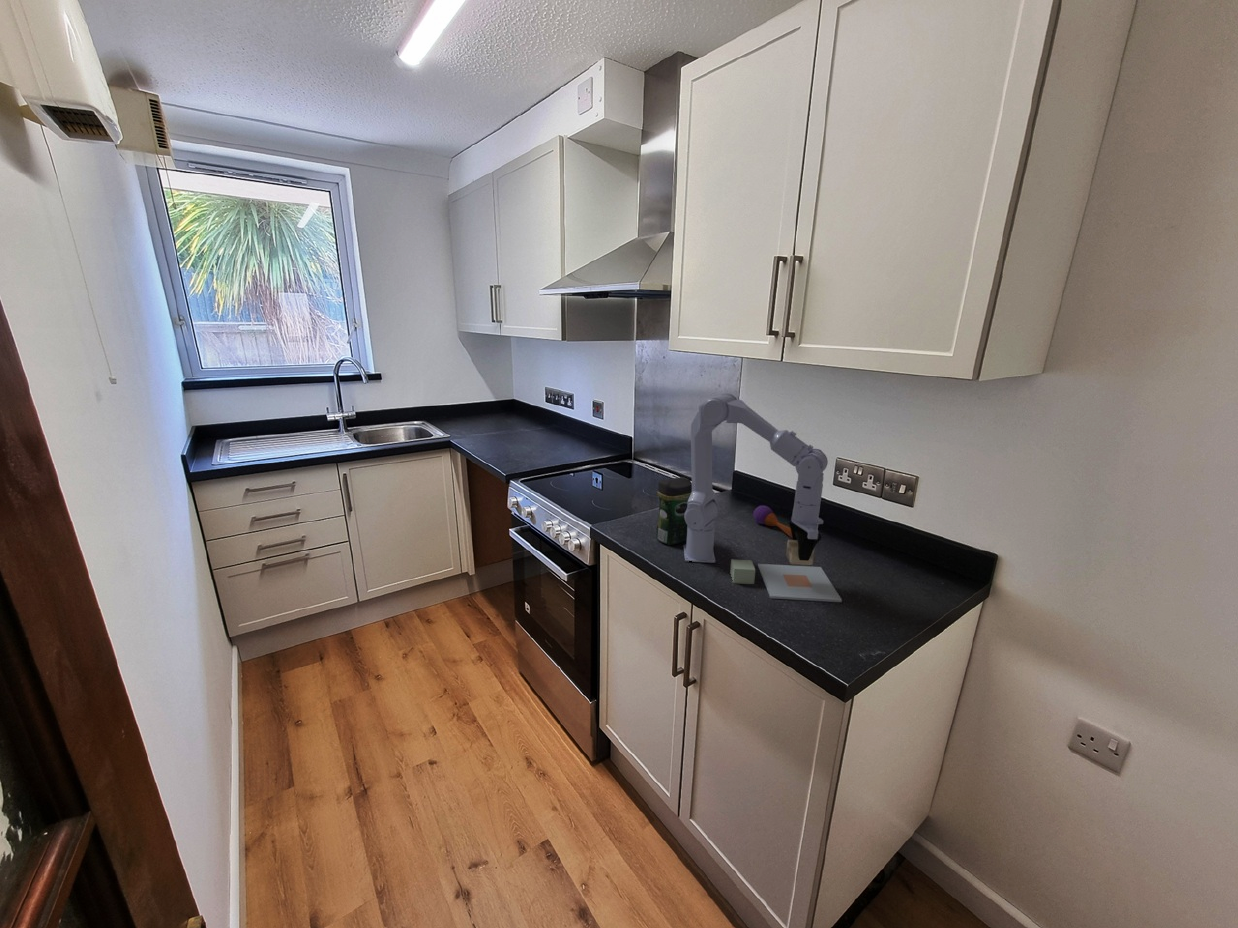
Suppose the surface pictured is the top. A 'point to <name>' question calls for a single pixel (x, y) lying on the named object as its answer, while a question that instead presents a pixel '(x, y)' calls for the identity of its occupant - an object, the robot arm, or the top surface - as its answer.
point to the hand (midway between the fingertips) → (800, 554)
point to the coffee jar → (673, 510)
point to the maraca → (769, 519)
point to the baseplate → (798, 583)
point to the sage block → (742, 571)
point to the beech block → (796, 554)
